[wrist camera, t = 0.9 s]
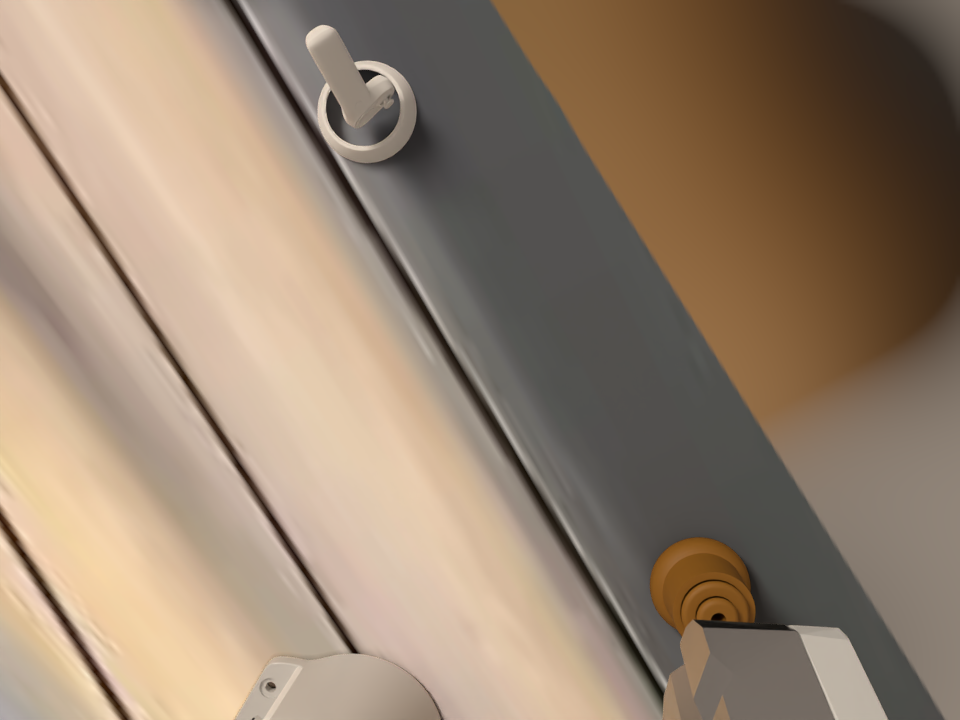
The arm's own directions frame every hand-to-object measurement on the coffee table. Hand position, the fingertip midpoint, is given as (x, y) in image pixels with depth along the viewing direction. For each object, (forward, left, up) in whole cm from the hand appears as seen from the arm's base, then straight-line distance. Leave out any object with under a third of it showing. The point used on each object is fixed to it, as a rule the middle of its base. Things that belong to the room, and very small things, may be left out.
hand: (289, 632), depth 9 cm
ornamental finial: (-4, -23, -57) cm, 62 cm away
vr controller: (+6, +20, -57) cm, 61 cm away
